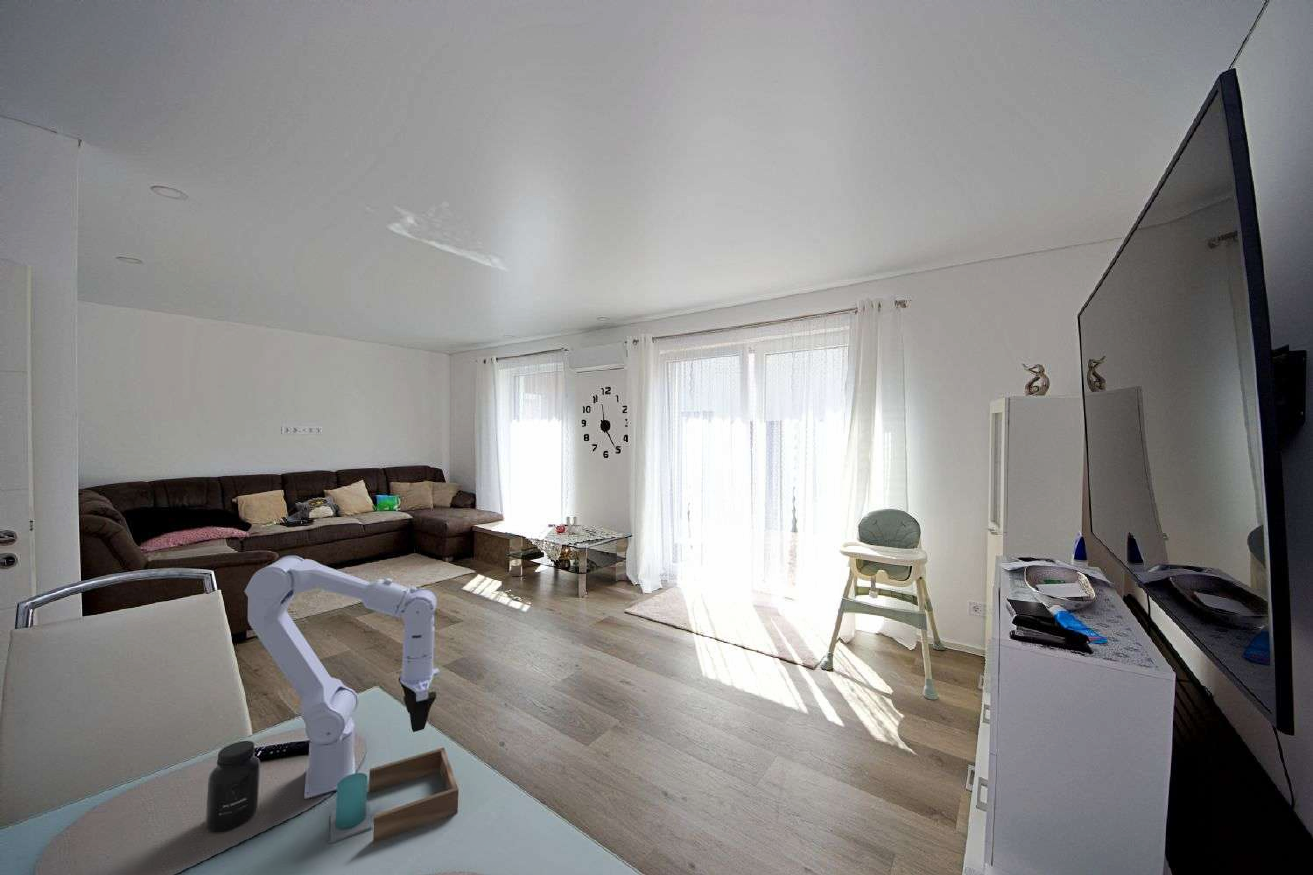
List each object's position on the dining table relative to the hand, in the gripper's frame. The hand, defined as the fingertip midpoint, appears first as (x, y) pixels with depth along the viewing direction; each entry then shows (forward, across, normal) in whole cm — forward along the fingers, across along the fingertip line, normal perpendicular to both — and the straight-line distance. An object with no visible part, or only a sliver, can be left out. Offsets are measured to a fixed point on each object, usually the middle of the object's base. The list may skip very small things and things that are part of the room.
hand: (415, 720), depth 98 cm
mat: (+9, -10, +11) cm, 18 cm away
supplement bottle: (+10, +1, +28) cm, 30 cm away
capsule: (+9, -10, +11) cm, 17 cm away
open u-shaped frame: (+9, -10, +2) cm, 14 cm away
